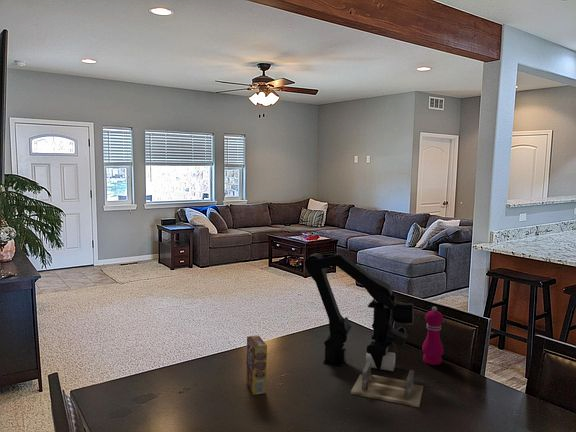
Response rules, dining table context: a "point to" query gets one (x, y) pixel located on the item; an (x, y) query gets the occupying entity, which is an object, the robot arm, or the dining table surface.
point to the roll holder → (388, 388)
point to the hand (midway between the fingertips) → (380, 364)
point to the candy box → (256, 364)
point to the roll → (383, 361)
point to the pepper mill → (433, 338)
